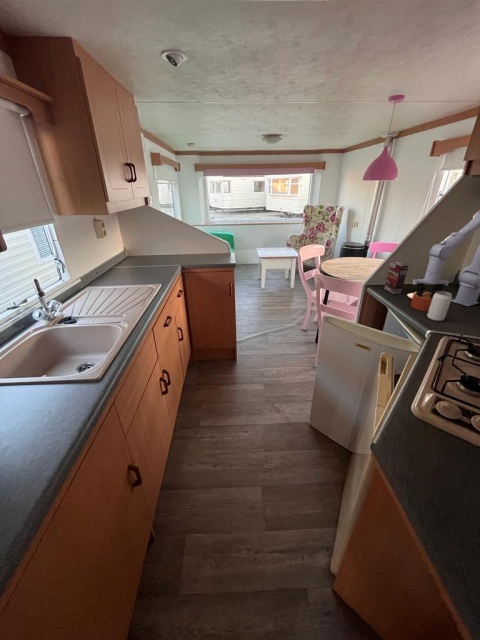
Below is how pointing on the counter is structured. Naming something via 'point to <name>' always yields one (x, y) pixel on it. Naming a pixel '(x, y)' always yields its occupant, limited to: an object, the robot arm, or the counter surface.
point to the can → (439, 305)
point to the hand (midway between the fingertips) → (425, 298)
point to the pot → (421, 302)
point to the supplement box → (396, 277)
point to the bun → (426, 295)
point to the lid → (411, 295)
